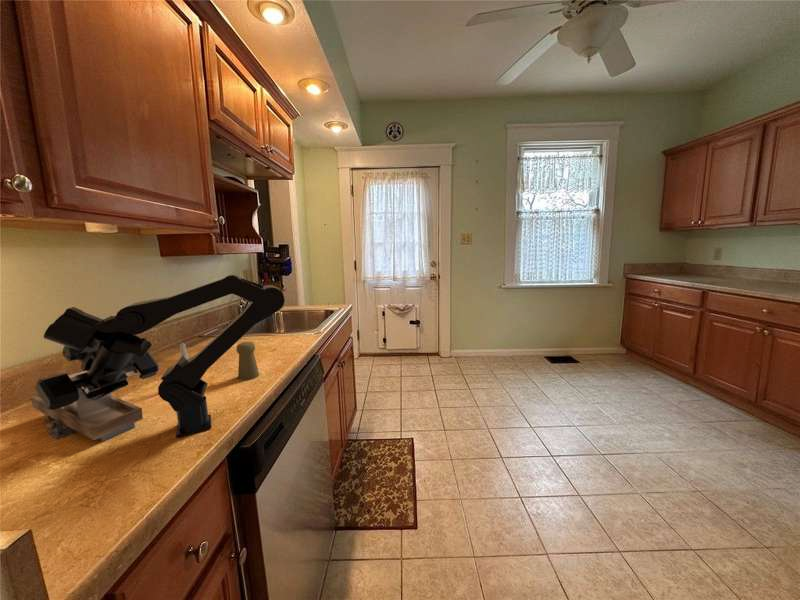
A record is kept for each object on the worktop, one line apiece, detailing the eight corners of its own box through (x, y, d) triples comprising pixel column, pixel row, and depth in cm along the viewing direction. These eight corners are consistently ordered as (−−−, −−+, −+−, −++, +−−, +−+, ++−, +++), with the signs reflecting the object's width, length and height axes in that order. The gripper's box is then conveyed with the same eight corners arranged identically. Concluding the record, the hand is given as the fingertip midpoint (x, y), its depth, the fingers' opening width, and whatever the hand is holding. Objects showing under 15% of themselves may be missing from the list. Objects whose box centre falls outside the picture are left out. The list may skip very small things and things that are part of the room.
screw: (199, 385, 94) (179, 390, 91) (196, 380, 98) (177, 385, 94) (193, 342, 92) (173, 346, 89) (190, 339, 95) (171, 342, 92)
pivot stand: (152, 419, 75) (150, 407, 75) (80, 451, 64) (77, 437, 63) (95, 401, 85) (93, 390, 85) (24, 426, 73) (21, 414, 73)
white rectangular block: (112, 405, 75) (108, 373, 73) (78, 418, 69) (73, 384, 68) (98, 399, 77) (93, 368, 75) (64, 411, 72) (59, 377, 70)
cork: (253, 380, 97) (250, 345, 95) (234, 380, 97) (230, 345, 95) (262, 372, 103) (259, 339, 101) (244, 372, 103) (240, 339, 101)
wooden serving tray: (142, 419, 73) (141, 408, 72) (94, 440, 65) (92, 428, 64) (81, 391, 83) (80, 382, 82) (32, 407, 75) (30, 396, 74)
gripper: (143, 317, 75) (123, 357, 81) (29, 338, 58) (14, 387, 64) (170, 353, 73) (147, 391, 79) (60, 386, 56) (41, 431, 62)
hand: (93, 398), depth 71 cm, fingers closed, pressing on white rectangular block
